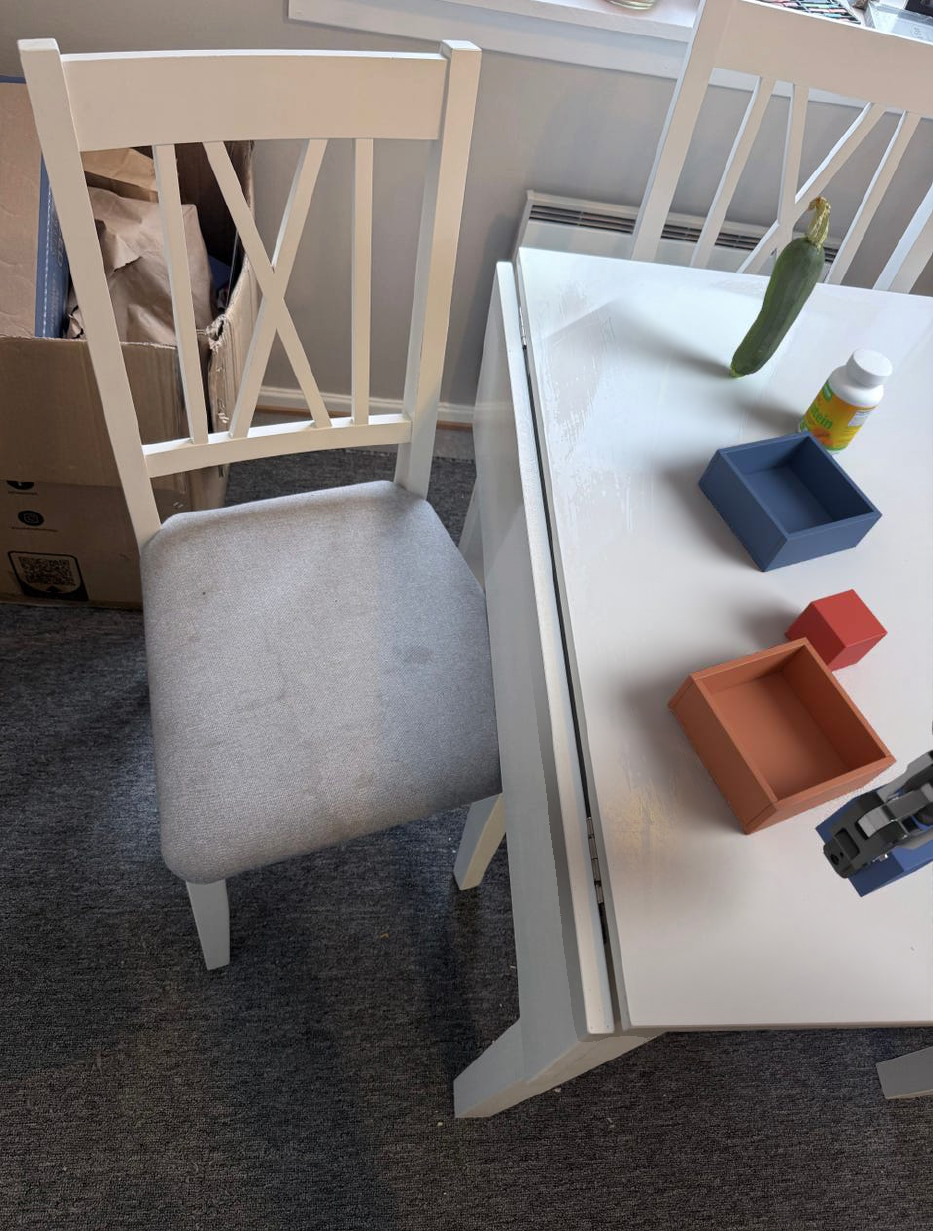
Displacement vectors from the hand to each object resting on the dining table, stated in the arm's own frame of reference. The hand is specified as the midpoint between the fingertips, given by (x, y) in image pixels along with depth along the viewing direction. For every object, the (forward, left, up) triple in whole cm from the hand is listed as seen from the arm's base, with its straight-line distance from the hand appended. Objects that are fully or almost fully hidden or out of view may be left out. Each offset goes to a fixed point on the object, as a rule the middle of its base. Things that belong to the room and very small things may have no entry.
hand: (868, 847), depth 52 cm
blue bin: (+30, -20, -8) cm, 37 cm away
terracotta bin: (+10, -4, -8) cm, 13 cm away
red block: (+16, -14, -8) cm, 23 cm away
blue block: (0, 0, 0) cm, 0 cm away
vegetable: (+48, -28, -8) cm, 56 cm away
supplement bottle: (+38, -32, -8) cm, 50 cm away
